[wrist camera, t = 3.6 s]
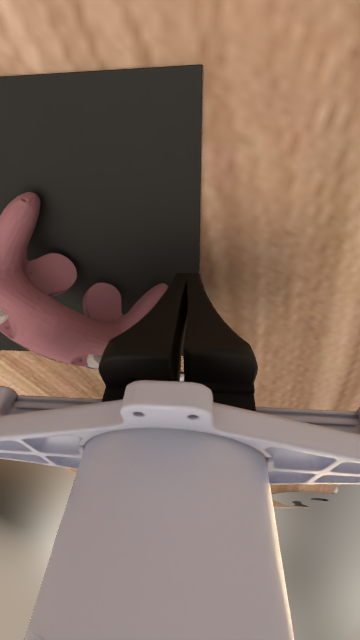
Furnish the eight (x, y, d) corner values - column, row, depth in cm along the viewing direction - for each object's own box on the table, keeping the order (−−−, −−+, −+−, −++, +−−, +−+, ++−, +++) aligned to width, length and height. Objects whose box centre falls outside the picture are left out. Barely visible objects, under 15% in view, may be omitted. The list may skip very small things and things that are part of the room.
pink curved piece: (21, 219, 15) (-57, 315, 13) (20, 173, 12) (-91, 296, 9) (150, 301, 20) (110, 385, 17) (181, 287, 16) (136, 393, 13)
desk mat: (197, 353, 22) (197, 356, 22) (-69, 345, 24) (-71, 347, 24) (202, 64, 9) (202, 64, 9) (-368, 98, 11) (-379, 99, 11)
